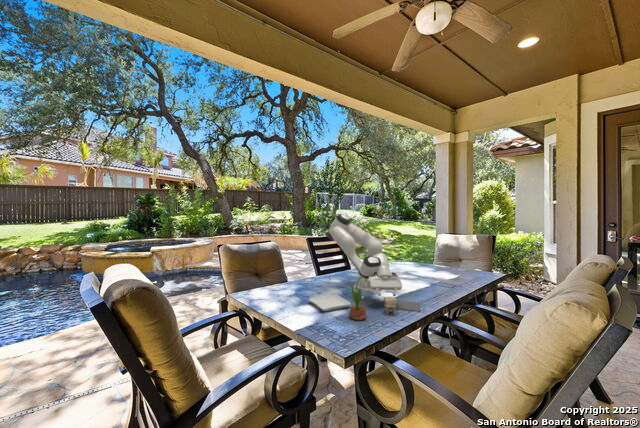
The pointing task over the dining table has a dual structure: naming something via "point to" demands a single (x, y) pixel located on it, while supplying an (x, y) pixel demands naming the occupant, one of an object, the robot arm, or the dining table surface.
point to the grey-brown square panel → (408, 306)
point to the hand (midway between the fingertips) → (387, 295)
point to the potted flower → (358, 311)
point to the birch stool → (389, 304)
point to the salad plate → (329, 302)
